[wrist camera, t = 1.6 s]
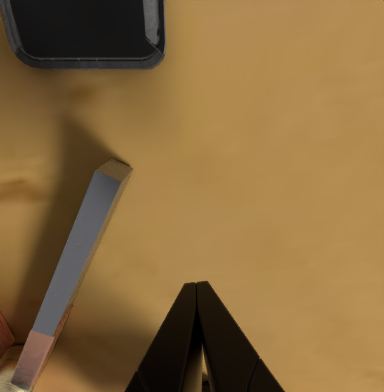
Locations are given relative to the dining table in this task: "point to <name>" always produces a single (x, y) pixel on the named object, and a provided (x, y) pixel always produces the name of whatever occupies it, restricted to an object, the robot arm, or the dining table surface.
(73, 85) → the dining table surface
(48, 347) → the arm
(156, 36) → the phone
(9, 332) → the bar
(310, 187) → the dining table surface
